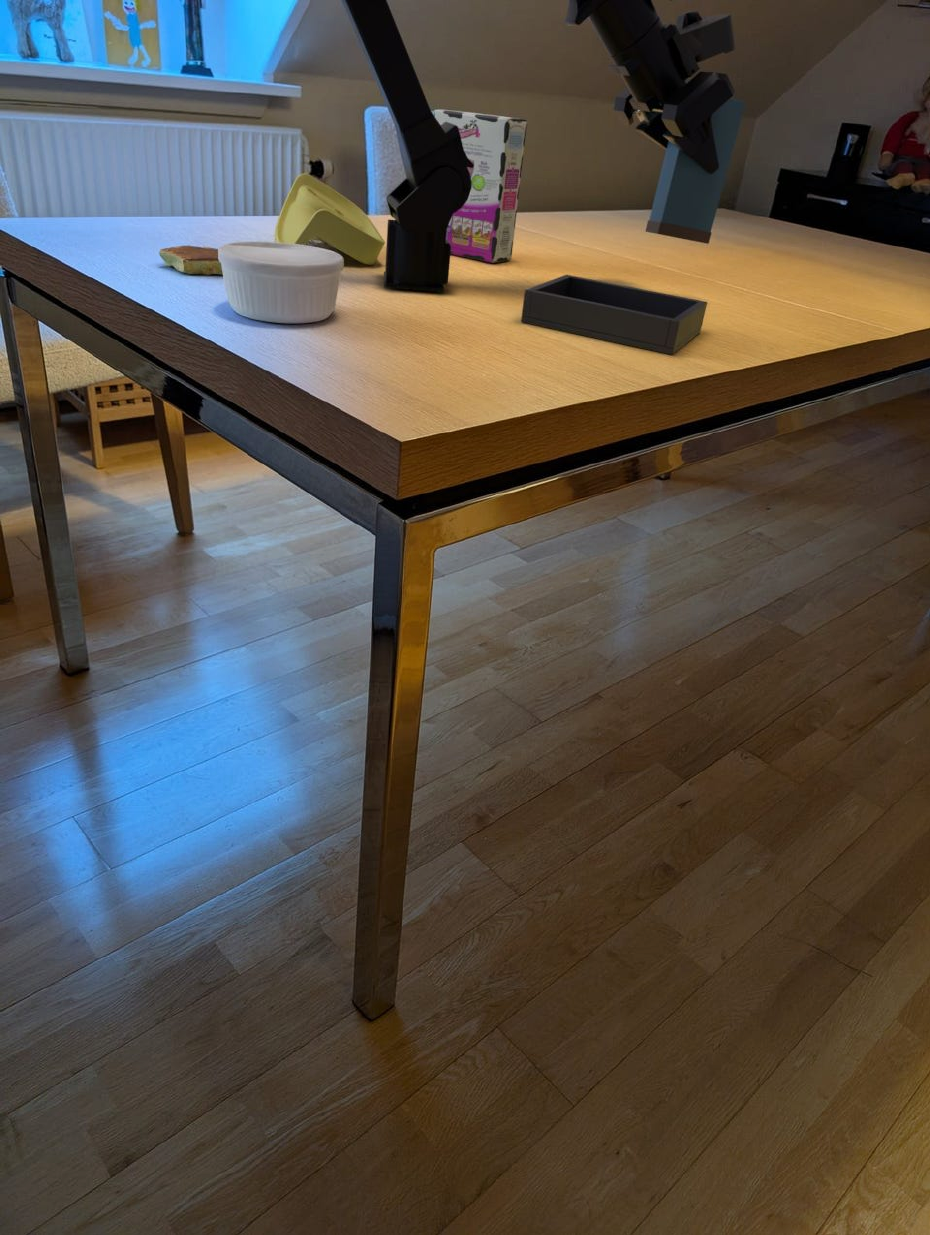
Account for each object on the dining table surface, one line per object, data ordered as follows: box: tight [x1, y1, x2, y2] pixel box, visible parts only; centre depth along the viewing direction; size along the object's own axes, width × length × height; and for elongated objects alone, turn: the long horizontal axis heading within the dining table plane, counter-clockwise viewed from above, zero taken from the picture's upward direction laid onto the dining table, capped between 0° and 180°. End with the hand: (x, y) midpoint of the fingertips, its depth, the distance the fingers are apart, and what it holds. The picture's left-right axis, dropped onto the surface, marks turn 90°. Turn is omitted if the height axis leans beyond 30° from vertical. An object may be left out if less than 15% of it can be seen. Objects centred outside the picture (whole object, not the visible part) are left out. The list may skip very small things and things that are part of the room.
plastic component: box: [274, 172, 386, 266], centre depth 109 cm, size 20×7×10 cm
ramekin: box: [217, 240, 345, 324], centre depth 80 cm, size 11×11×5 cm
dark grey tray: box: [520, 274, 708, 356], centre depth 89 cm, size 16×12×3 cm
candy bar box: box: [433, 109, 528, 264], centre depth 113 cm, size 11×5×16 cm, turn 56°
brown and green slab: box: [158, 245, 223, 276], centre depth 93 cm, size 11×8×2 cm
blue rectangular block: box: [645, 97, 747, 245], centre depth 97 cm, size 6×4×14 cm
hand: (706, 168), depth 97 cm, fingers closed on blue rectangular block, 4 cm apart
